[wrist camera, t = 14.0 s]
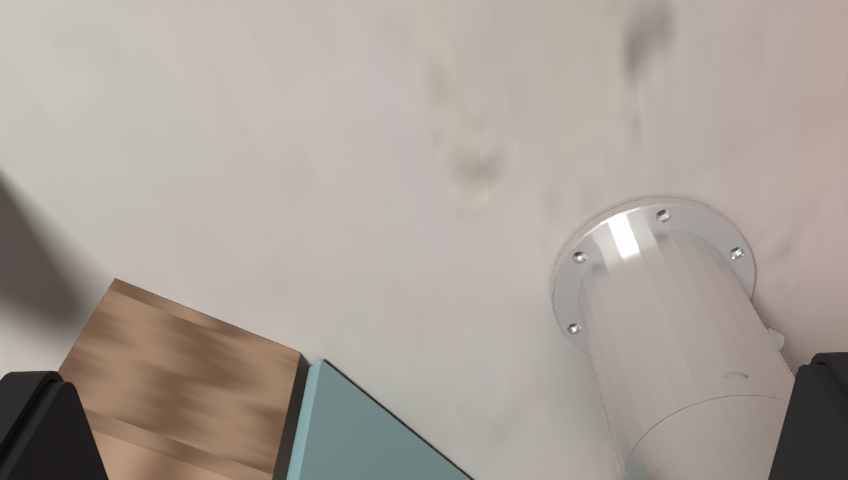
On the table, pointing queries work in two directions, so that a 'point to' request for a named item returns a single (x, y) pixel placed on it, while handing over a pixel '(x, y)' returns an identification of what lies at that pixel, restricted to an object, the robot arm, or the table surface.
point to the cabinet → (179, 390)
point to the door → (356, 437)
